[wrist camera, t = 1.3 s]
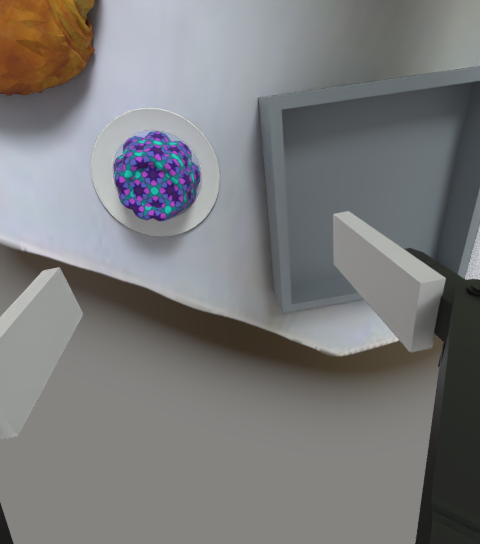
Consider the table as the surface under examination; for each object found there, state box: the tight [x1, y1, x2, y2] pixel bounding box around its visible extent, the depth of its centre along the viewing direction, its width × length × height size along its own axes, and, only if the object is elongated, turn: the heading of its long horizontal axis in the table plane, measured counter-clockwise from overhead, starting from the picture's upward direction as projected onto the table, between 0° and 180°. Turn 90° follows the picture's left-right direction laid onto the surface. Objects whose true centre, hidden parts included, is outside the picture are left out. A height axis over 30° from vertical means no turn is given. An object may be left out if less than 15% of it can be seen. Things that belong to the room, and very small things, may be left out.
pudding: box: [91, 108, 220, 237], centre depth 28 cm, size 12×12×5 cm
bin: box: [258, 66, 480, 313], centre depth 32 cm, size 21×21×4 cm
